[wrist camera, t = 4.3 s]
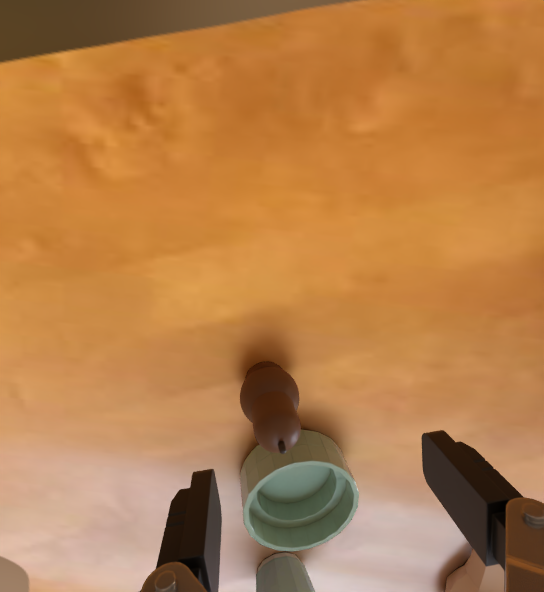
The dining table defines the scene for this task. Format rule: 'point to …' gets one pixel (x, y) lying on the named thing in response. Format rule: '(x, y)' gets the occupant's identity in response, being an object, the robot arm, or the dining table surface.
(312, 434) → the bowl
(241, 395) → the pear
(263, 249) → the dining table surface
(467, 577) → the squash
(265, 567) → the disposable coffee cup
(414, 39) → the dining table surface
